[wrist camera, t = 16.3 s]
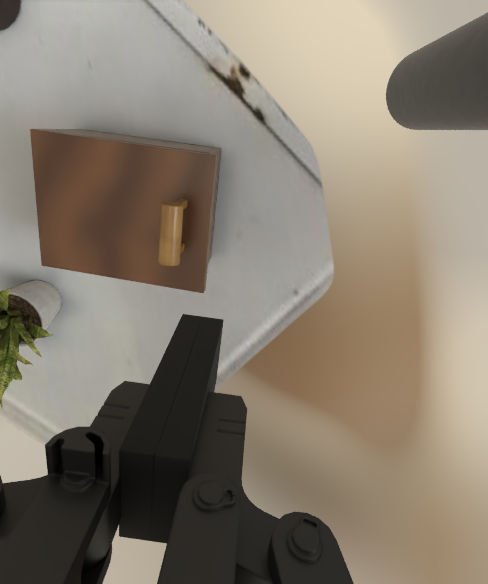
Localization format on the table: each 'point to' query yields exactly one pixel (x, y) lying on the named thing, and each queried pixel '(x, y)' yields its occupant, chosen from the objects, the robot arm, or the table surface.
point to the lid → (124, 209)
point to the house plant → (24, 324)
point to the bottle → (8, 12)
